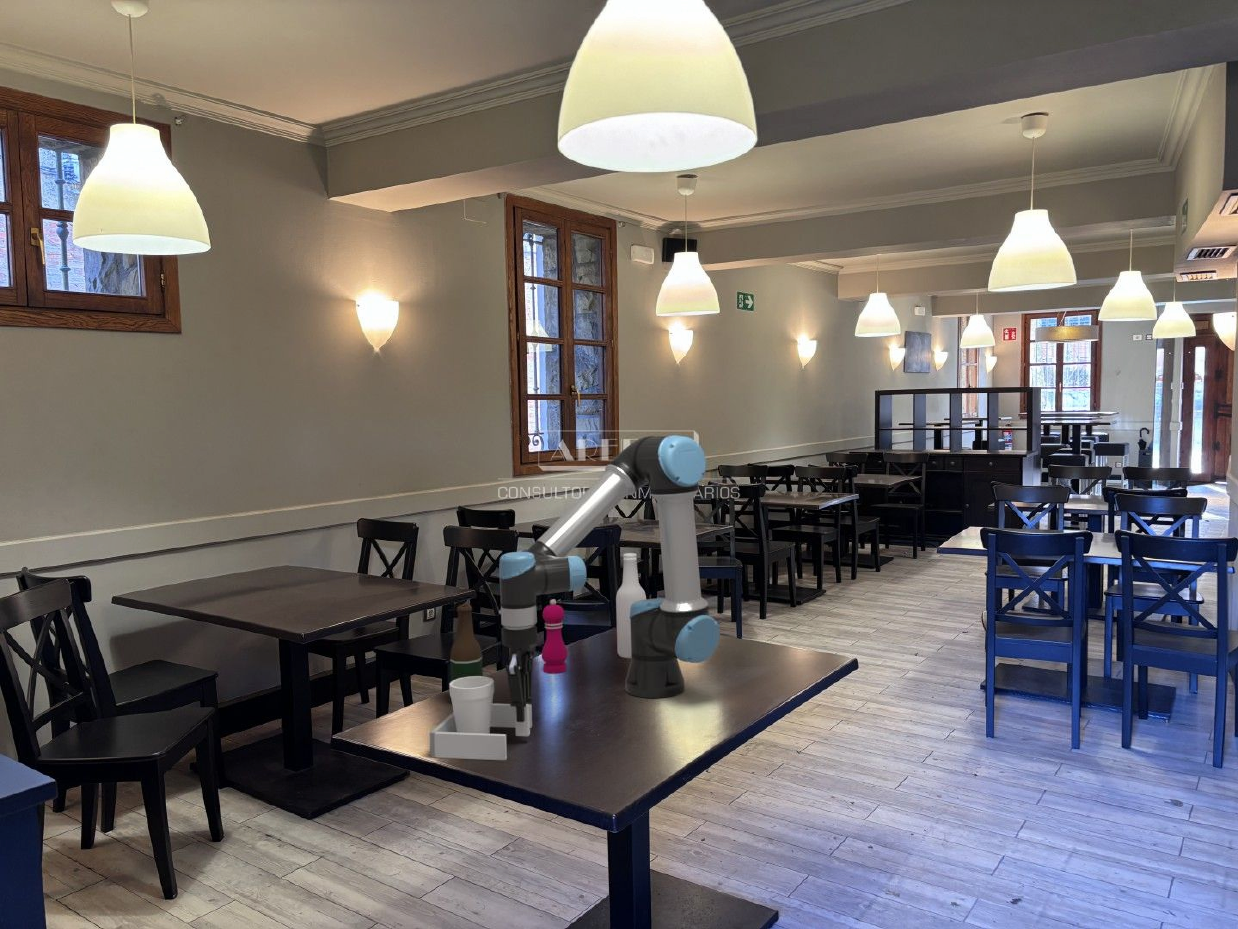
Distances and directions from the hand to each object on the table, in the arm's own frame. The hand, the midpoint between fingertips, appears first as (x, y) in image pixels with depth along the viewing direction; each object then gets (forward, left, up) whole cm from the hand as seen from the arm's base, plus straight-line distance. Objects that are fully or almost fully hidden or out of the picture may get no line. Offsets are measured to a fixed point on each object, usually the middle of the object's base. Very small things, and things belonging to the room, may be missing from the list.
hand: (522, 734), depth 183 cm
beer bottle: (+22, -26, -2) cm, 34 cm away
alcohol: (-12, -73, -2) cm, 74 cm away
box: (+9, 0, -2) cm, 9 cm away
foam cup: (+11, +1, -2) cm, 11 cm away
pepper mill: (+7, -55, -2) cm, 55 cm away
